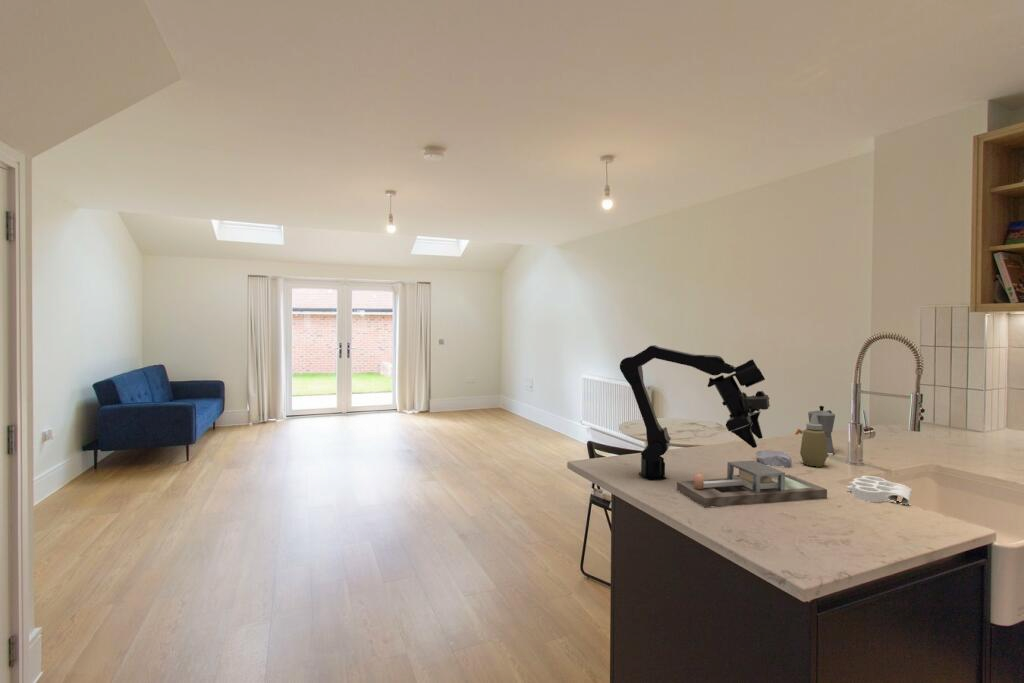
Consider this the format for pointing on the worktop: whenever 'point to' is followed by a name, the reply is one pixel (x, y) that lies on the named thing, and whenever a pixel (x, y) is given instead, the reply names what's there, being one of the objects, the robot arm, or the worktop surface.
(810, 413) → the coffeepot
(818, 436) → the squeeze bottle
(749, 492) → the deck
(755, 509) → the worktop surface
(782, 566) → the worktop surface
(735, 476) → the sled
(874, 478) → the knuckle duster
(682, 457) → the worktop surface
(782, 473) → the tunnel
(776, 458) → the stone block
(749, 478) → the block
